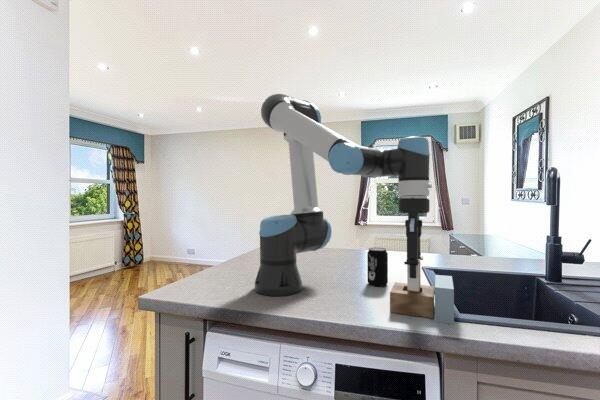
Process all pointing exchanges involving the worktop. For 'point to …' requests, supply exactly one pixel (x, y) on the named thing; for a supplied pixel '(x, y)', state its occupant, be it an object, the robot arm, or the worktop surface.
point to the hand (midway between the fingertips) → (414, 287)
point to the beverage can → (377, 267)
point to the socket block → (412, 300)
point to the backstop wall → (444, 299)
